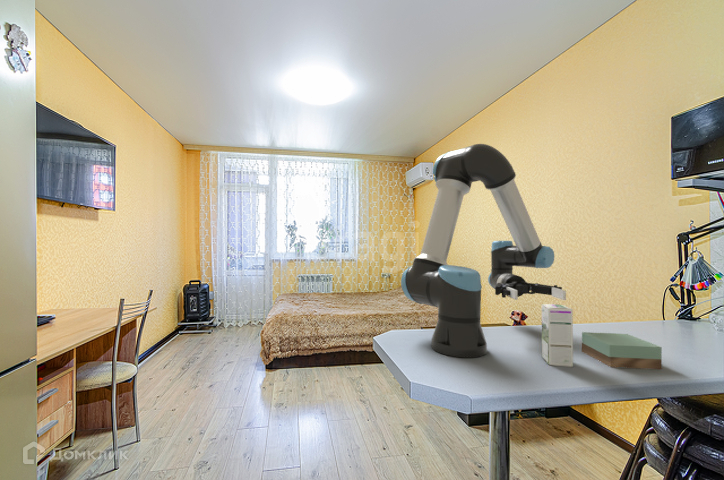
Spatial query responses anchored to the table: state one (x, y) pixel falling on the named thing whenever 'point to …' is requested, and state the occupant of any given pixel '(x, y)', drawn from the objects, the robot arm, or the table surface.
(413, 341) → the table surface
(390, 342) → the table surface
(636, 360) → the bottom slab
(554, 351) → the syrup box
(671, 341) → the table surface
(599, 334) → the top slab
